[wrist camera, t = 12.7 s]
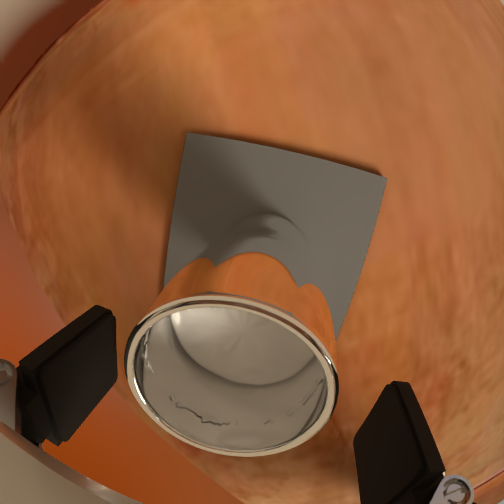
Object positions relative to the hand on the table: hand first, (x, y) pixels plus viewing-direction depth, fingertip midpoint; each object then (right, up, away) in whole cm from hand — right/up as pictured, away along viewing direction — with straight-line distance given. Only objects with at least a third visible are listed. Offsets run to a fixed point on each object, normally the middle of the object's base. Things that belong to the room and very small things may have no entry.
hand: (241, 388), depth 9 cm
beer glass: (+1, +4, +14) cm, 14 cm away
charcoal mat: (+1, +5, +14) cm, 15 cm away
